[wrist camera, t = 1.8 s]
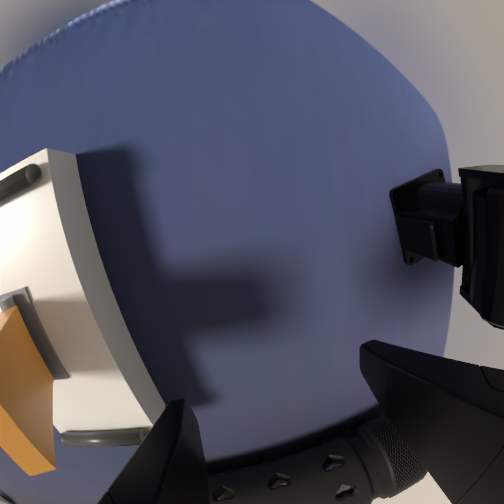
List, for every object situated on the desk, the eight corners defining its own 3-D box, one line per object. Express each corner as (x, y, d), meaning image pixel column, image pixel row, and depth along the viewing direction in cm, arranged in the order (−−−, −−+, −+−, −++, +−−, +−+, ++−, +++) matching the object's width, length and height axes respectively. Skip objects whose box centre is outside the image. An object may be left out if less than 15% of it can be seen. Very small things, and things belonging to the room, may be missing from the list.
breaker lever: (17, 292, 12) (-29, 357, 5) (57, 375, 14) (63, 475, 6) (-2, 300, 11) (-55, 368, 4) (39, 382, 13) (37, 482, 6)
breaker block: (75, 154, 15) (35, 146, 10) (165, 404, 20) (161, 451, 15) (-12, 198, 14) (-55, 205, 9) (79, 413, 19) (65, 452, 14)
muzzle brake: (142, 457, 22) (137, 538, 12) (398, 380, 25) (455, 439, 15) (179, 494, 24) (183, 560, 14) (391, 429, 27) (432, 481, 17)
